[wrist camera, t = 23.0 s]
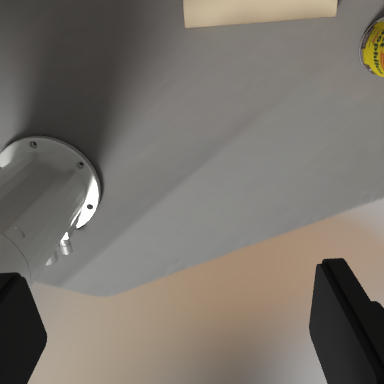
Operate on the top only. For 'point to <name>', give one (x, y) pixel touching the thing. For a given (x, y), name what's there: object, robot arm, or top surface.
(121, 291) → the top surface
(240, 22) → the frame
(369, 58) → the supplement bottle
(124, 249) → the top surface
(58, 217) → the robot arm
